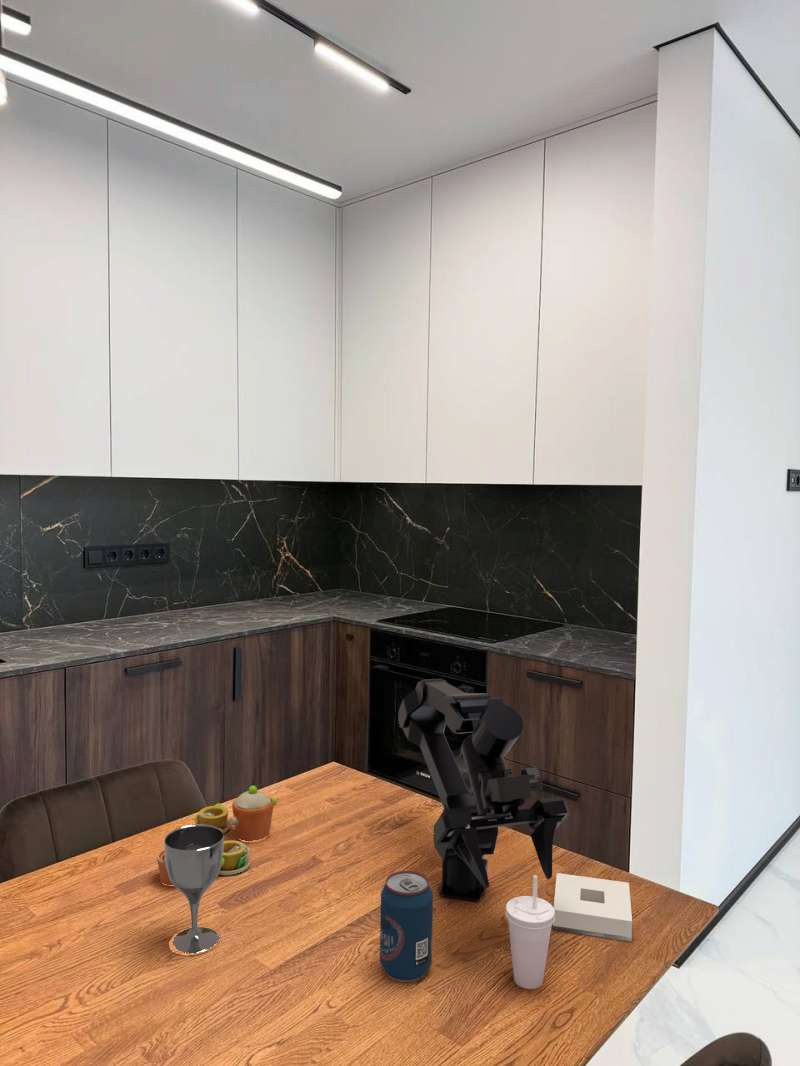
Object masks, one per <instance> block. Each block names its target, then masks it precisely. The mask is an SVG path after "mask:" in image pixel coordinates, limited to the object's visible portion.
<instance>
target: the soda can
mask: <svg viewBox="0 0 800 1066" xmlns="http://www.w3.org/2000/svg"><path fill="white" fill-rule="evenodd" d="M431 888H432V887H431V886H430V880H429V879H428V877H427V876H426V875H425V874H423V873H420V872H418V871H412V870H399V871H395V872H392V873H391V874H389V875H387V877H386V879H385V884H384V885H383V888H382V889H381V892H380V926H379V927H380V928H379V929H380V930H379V931H380V933H379V963H380V965H381V967H382V969H383V970H384V972H385V974H386V975H387V976H388V977H389V978H390V979H392V980H394V981H397V982H402V983H411V982H416V981H419V980H421V979H422V978H423V977H424V976H425V975H426V974H427V973H428V971H429V969H430V967H431V966H432V961H433V923H434V922H433V921H434V911H433V910H434V894H433V893H434V892H433V890H432V889H431Z"/></svg>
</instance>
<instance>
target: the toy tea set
mask: <svg viewBox="0 0 800 1066" xmlns="http://www.w3.org/2000/svg"><path fill="white" fill-rule="evenodd" d="M277 803H278V799H277V798H276V797H270V796H269V795H268V794H266V793H265V792H263V791H260V790H258V788H257V786H256V785H250V787H249V788H248V790H247V791H245V792H243V793H241V794H239V796H237V798H236V799H234V800H233V802H232V805H231V808H232V814H233V816H231V817H229V809H228V808H227V807H225V806H223V805H222V804H221V803H216V804H214V805H209V806H204V807H203V808H201V809H200V810H199V811H198V813H196V814H195V815H194V816H193V817H192V820H193V821H194V822H195V824H192V825H196V824H206V825H212V826H215V827H218V828H220V829H221V830H222V831H223V833H224V834H226V833H227V831H228V830H229V831H231V830H232V828H233V826H234V828H235V834H236V835H235V836H236V838H237V837H238V838H239V839H241V840H245V841H253V840H259V839H263V838H264V837H266V836H268V835H269V836H270V832H271V825H272V819H273V812H274V807H275V806H276V805H277ZM228 817H229V819H228ZM229 831H228V832H229ZM225 832H226V833H225ZM269 836H268V837H269ZM238 838H237V839H238ZM250 853H251V849H250V847H248V846H247V845H246V843H244V842H241V841H239V840H232V839H231V840H224V848H223V858H222V863H221V867H220V871H219V874H218V875H221V876H233V874H234V875H238V874H240V872H241V873H243V872H246V871H247V869H249V868H250V867H251V858H250V857H249V854H250ZM156 862H157V867H158V872H159V878H160V883H161V882H162V883H164V884H167V885H173V883H172V882H171V881H170V878H169V876H168V872H167V868H166V862H165V848H164V849H162V850H161V851H159V852H158V853H157V856H156ZM237 873H238V874H237ZM162 883H161V884H162Z"/></svg>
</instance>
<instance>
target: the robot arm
mask: <svg viewBox="0 0 800 1066" xmlns="http://www.w3.org/2000/svg"><path fill="white" fill-rule="evenodd" d="M397 713H398V716H397V718H398V719H397V720H398V725H399V728H400V729H402V731H403V733H404V735H405V737H406V739H407V740H408V741H409V742H411V743H413V744H414V745H416V746H418V747H420V750H421V753H422V756H423V758H424V761H425V763H426V765H427V769H428V771H429V773H430V776H431V779H432V781H433V784H434V787H435V788H436V792H437V794H438V797H439V800H440V801H441V802H440V803H441V804H442V807H443V809H442V813H441V814H440V816H439V817H438V819H437V820H436V821H435V823H434V825H433V836H432V837H433V848H434V850H435V851H436V852H437V854H438V855H439V856H440V858H441V859H442V862H441V863H442V868H441V871H442V872H441V886H440V888H439V896H441V897H446V898H453V899H460V900H466V901H475V902H480V901H481V900H482V896H483V893H485V892H486V890H487V889H489V887H490V881H489V877H488V864H489V863H488V860H487V858H486V859H485V856H486V855H487V856H488V855H490V856H491V855H494V853H495V849H496V843H497V840H498V835H499V828H500V827H509V826H518V825H525V824H528V826H529V828H530V829H532V830H533V832H532V833H531V834H530V838H531V841H532V845H533V846H534V849H535V853H536V855H537V858H538V861H539V864H540V866H541V870H542V873H543V874H544V877H545V878H546V880H551V879H552V878H553V849H554V847H553V845H554V843H553V842H554V836H555V831H556V830H557V829H558V827H559V826H561V824H562V823H563V822H564V821H565V819H567V818H568V816H570V811H569V807H568V805H567V802H566V801H565V800H564V799H562V798H561V797H560V796H554V797H546V798H538V799H537V800H536V801H535V802H534V803H533V804H532V806H531V807H530V808H524V809H523V808H522V809H520V806H523V805H524V804H525V803H526V800H533V798H534V797H533V792H540V791H542V789H543V782H542V776H541V774H540V772H539V770H538V766H537V767H536V766H535V767H526V768H523V769H521V770H520V775H514V772H513V771H512V769H511V768H507V764H506V762H505V756H506V755H507V754H508V753H509V752H510V750H511V749H512V747H513V745H514V744H515V743H516V741H517V740H518V739H519V738H520V735H521V734H522V732H523V729H524V722H523V718H522V716H521V715H520V714H519V713H518V711H516V710H515V709H514V708H512V707H511V706H509V705H507V704H505V703H504V701H503V698H502V697H494V698H493V697H492V696H491V695H490V694H489V693H486V692H485V693H484V692H481V693H478V692H477V693H475V692H474V693H469V692H465V691H463V690H461V689H459V688H458V687H455V686H454V685H451V684H450V683H449V682H448V681H447V680H446V679H443V678H432V679H430V678H429V679H422V680H420V681H418V682H417V683H416V687H415V689H413V690H412V691H411V692H410V693H408V694H407V695H406V696H405V697H403V698H402V701H401V704H400V707H399V709H398V712H397ZM446 726H447V727H448V728H449V730H450V732H452V733H453V734H455V735H458V734H460V735H461V734H469V733H471V734H470V735H468V736H467V737H466V738H465V739H463V742H462V744H461V745H460V746H461V748H460V751H459V756H460V758H461V759H462V758H463V760H464V764H465V768H466V771H467V775H468V780H469V783H470V787H469V788H468V786H467V783H466V782H465V779H464V777H463V775H462V771H461V770H460V767H459V766H458V764H457V761H456V758H455V756H454V753H453V751H452V748H450V744H449V742H448V740H447V738H446V736H445V730H446V729H445V728H446Z"/></svg>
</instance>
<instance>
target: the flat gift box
mask: <svg viewBox="0 0 800 1066" xmlns="http://www.w3.org/2000/svg"><path fill="white" fill-rule="evenodd" d="M630 893H631V892H630V882H626V881H618V880H612V879H611V880H610V879H604V878H597V877H596V878H595V877H588V876H583V875H582V876H581V875H574V874H566V873H560V872H556V879H555V890H554V898H553V899H554V900H553V908H554V910H555V921H554V923H553V924H552V931H560V932H565V933H573V934H579V935H585V936H591V937H598V938H604V939H605V938H606V939H612V940H617V939H618V941H624V942H625V941H626V942H630V943H631V942H632V937H633V936H632V935H633V917H632V916H633V915H632V905H631V894H630Z"/></svg>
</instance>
